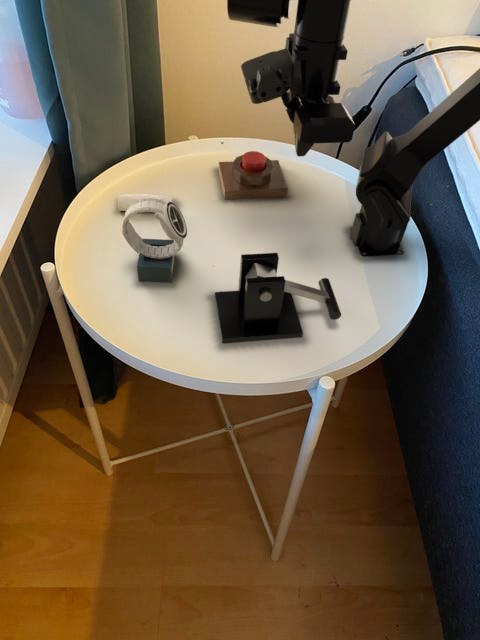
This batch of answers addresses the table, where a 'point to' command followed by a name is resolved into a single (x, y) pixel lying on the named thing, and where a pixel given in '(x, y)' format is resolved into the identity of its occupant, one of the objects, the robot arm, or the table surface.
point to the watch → (156, 252)
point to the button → (253, 162)
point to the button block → (252, 180)
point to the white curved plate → (136, 199)
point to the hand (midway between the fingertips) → (300, 154)
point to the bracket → (257, 306)
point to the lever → (302, 289)
